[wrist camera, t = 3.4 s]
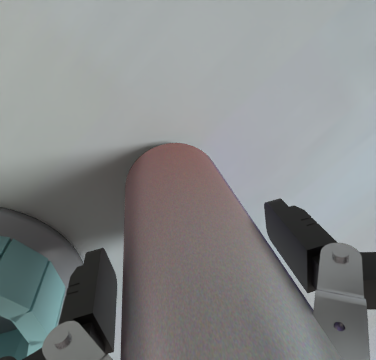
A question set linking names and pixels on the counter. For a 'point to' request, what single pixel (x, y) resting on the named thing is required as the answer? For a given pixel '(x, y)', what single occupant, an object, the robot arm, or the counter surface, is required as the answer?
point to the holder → (31, 281)
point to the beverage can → (204, 271)
